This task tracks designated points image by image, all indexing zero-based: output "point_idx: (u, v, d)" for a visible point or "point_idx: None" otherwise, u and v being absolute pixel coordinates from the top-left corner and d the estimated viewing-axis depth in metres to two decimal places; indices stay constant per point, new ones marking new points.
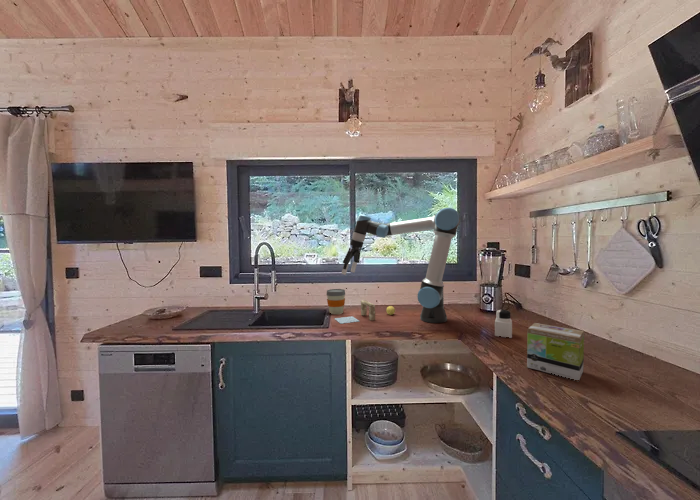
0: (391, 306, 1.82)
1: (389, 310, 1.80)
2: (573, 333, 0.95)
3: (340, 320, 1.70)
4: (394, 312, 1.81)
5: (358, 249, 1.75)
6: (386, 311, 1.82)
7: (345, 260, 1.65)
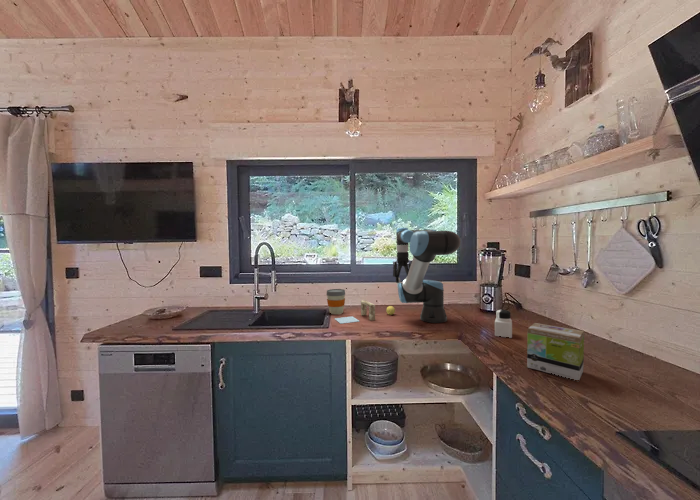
0: (391, 306, 1.82)
1: (389, 310, 1.80)
2: (573, 333, 0.95)
3: (340, 320, 1.70)
4: (394, 312, 1.81)
5: (407, 260, 1.85)
6: (386, 311, 1.82)
7: (393, 274, 1.83)
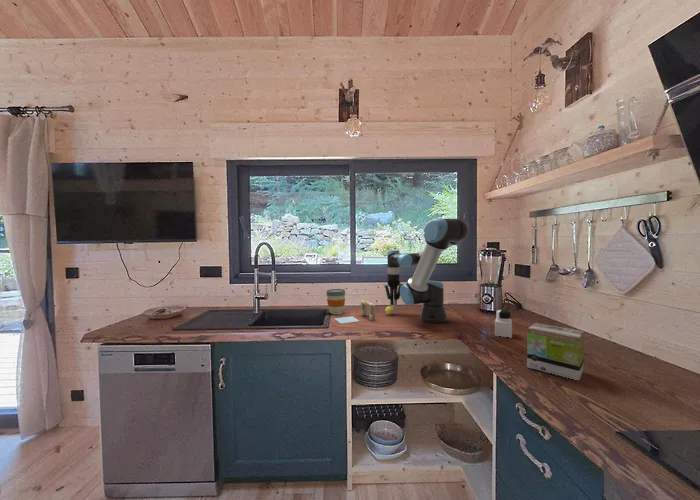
0: (389, 306, 1.81)
1: (388, 310, 1.80)
2: (573, 333, 0.95)
3: (340, 320, 1.70)
4: (393, 312, 1.81)
5: (398, 282, 1.83)
6: None
7: (388, 297, 1.83)
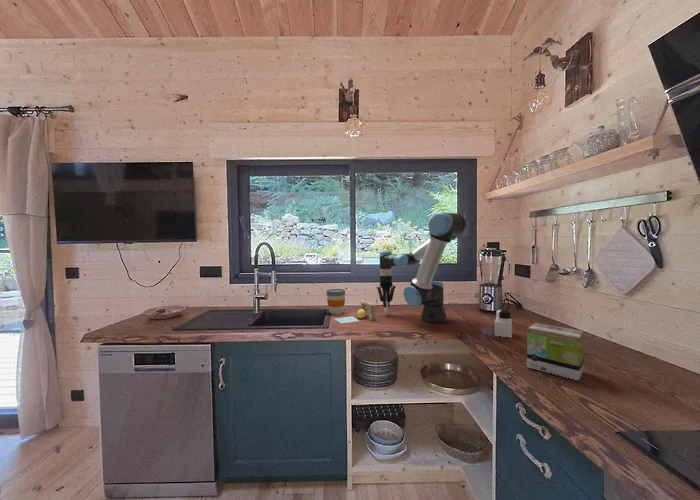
0: (359, 310, 1.74)
1: (360, 316, 1.73)
2: (573, 333, 0.95)
3: (340, 320, 1.70)
4: (365, 313, 1.74)
5: (390, 283, 1.81)
6: (359, 317, 1.76)
7: (380, 299, 1.80)
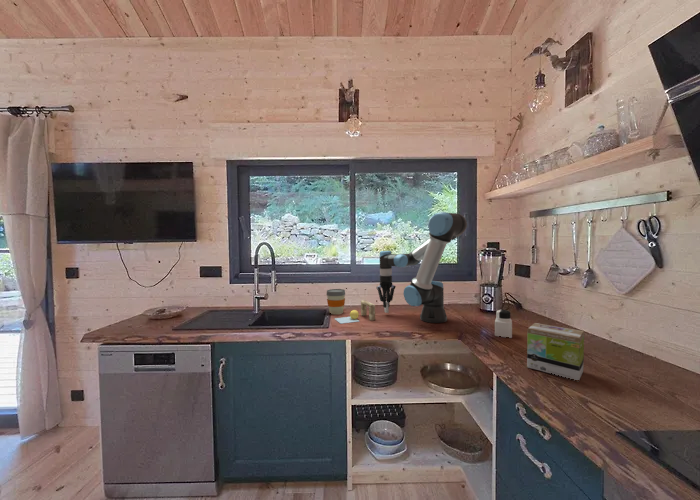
0: None
1: (357, 317, 1.72)
2: (573, 333, 0.95)
3: (340, 320, 1.70)
4: (354, 312, 1.71)
5: (390, 283, 1.81)
6: None
7: (380, 299, 1.80)
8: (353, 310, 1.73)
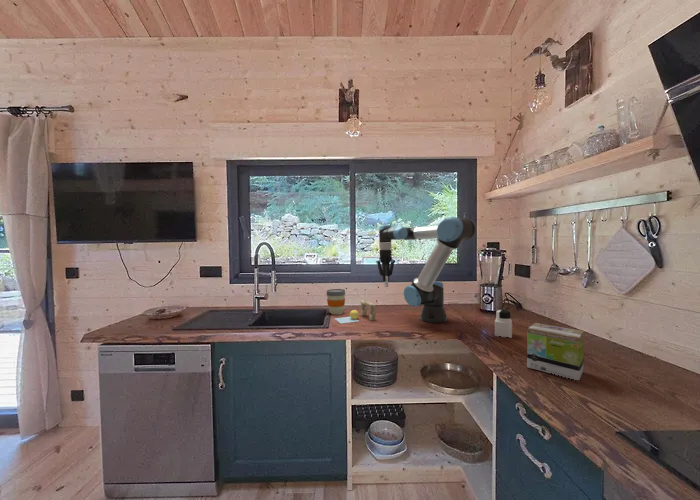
0: None
1: (357, 317, 1.72)
2: (573, 333, 0.95)
3: (340, 320, 1.70)
4: (354, 312, 1.71)
5: (390, 258, 1.81)
6: None
7: (380, 273, 1.79)
8: (353, 310, 1.73)
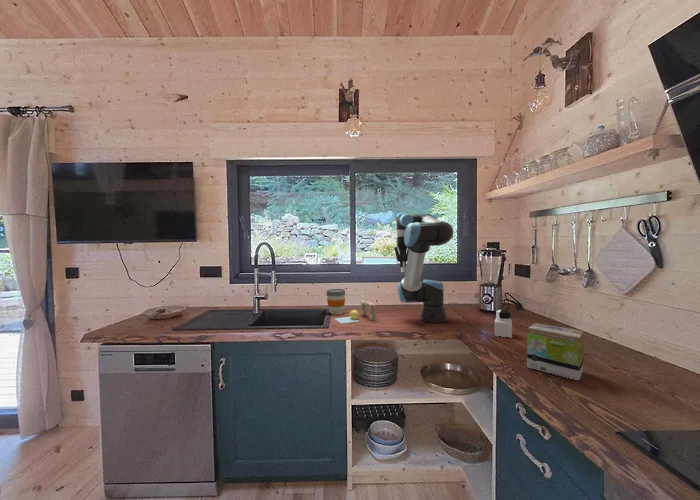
0: None
1: (357, 317, 1.72)
2: (573, 333, 0.95)
3: (340, 320, 1.70)
4: (354, 312, 1.71)
5: None
6: None
7: (397, 259, 1.88)
8: (353, 310, 1.73)
